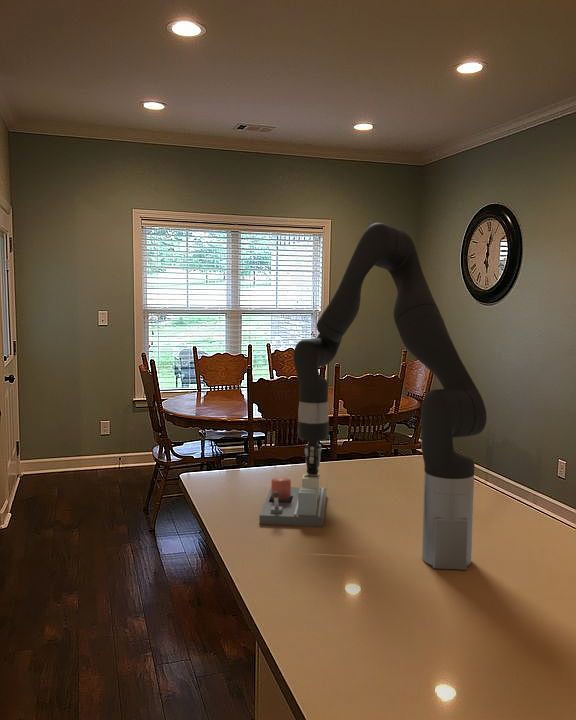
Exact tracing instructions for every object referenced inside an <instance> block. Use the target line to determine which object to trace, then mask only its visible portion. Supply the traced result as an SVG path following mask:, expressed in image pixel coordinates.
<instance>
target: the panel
mask: <svg viewBox="0 0 576 720" xmlns="http://www.w3.org/2000/svg"><path fill="white" fill-rule="evenodd" d="M299 488H302V486H301V487H300V486H299V487H294V486H291V497H290V498H289V499H284V500H278V497H279V493H278V492H274V493H273V497H274V499H273V498H272V497H271V488H270V490H269V492H268V494H267V497H266V499H265V501H264V503H263V506H262V508H261V510H260V513H259V516H258V517H259V519H258V520H259V523H258V524H259V525H271V526H272V525H273V526H274V525H275V526H295V527H296V526H297V527H299V526H302V527H322V528H323V526H324V518H325V510H326V502H327V488H324V487H323V486H322V487H320V495H319V500H317V514H316V516H310V515H298V492H299Z"/></svg>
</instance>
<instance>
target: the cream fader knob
mask: <svg viewBox="0 0 576 720" xmlns="http://www.w3.org/2000/svg"><path fill="white" fill-rule="evenodd" d="M320 478H321V476H320V474H318V475H312V474H308V473H307V474H306V473H303V475H302V477H301V487H302V488H317V500H319V495H320V488H321V486H320V485H321V483H320V482H321V481H320V480H321V479H320Z"/></svg>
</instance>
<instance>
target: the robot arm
mask: <svg viewBox="0 0 576 720" xmlns="http://www.w3.org/2000/svg"><path fill="white" fill-rule="evenodd" d="M374 266H375V267H379V268H381V269H385V270H386V271H387V272H388V273H389V274H390V276H391V278H392V280H393V283H394V285H395V287H396V290H397V291H396V292H397V295H396V299H395V303H394V307H393V319H394V323H395V326H396V329H397V331H398V334H399V336H400V339H401V341H402V343H403V345H404V347H405V348H406V349H407V350H408V352H409V353H410V354H411V355H413V356H414V357H415V358H416V359H417V360H418V361H419V362H420V363H421V364H423V365H424V367H426V368H427V369H428V370H429V371H430V372H431V373H433V374H434V376H435V377H436V378H437V380H438V381H439V383H440V384H441V387H442V388H439V389H431V390H429V391H428V392H426V394H424V395H425V396H424V398H423V400H422V403H421V407H420V409H421V410H420V423H421V425H420V426H421V427H420V428H421V429H420V430H421V454H422V458H423V463H424V465H423V466H424V469H423V471H424V477H423V479H424V480H423V503H422V504H423V506H422V507H423V509H422V510H423V511H422V541H421V542H422V543H421V544H422V547H421V559H422V560H423V561H424V562H425V563H426V564H428V565H430V566H431V567H432V568H433V569H442V570H443V569H445V570H464V571H466V570H467V569H468V567H469V566H471V564H472V550H473V549H472V548H473V521H474V518H473V517H474V495H475V494H474V490H475V461H474V459H473V458H472V457H470V456H468V455H467V454H463V453H460V452H458V451H457V452H456V450H455V449H454V440H453V439H454V438H462V437H463V438H465V437H472V436H476V435H480V434H481V433H482V432H483V431H484V430H485V428H486V424H487V417H488V416H487V410H486V406H485V402H484V399H483V398H482V396H481V393H480V391H479V389H478V388H477V386H476V384H475V381H473V378H472V377H471V376H470V374H469V372H468V369H466V366H465V365H464V363H463V361H462V359H461V357H460V355H459V353H458V351H457V348H456V347H455V345H454V343H453V340H452V339H451V336H450V333H449V332H448V329H447V326H446V323H445V320H444V318H443V316H442V314H441V311H440V310H439V308H438V305H437V303H436V301H435V299H434V297H433V294H432V292H431V289H430V286H429V285H428V281H427V280H426V277H425V275H424V272H423V269H422V267H421V266H422V265H421V263H420V259H419V256H418V252H417V248H416V245H415V242H414V241H413V238H412V237H411V236H410V234H408V233H407V232H406V231H404V230H402V229H399V228H397V227H394V226H392V225H388V224H386V223H384V222H375V223H372V224H370V225H369V226H368V227H367V228H366V229H365V230H364V232H363V234H362V235H361V237H360V238H359V240H358V243H357V245H356V247H355V250H354V252H353V254H352V256H351V259H350V260H349V263H348V265H347V267H346V269H345V271H344V274H343V277H342V279H341V281H340V284H339V285H338V287H337V290H336V291H335V292H334V295H333V297H332V298H331V300H330V302H328V304H327V306H326V308H325V310H324V311H323V312H322V313H321V315H320V317H319V319H318V320H317V323H316V329H317V332H318V335H317V336H316V337H315V338H306V339H305V338H304V339H301V340H299V341H298V342H297V344H296V345H295V347H294V350H293V364H294V368H295V372H296V376H297V380H298V385H299V391H298V392H299V395H298V397H299V398H298V400H299V402H298V403H299V404H298V413H297V417H298V418H297V420H298V421H297V435H298V436H297V437H298V438H299V439H300V440H301V441H302V440H303V441H307V444H305V446H304V455H305V465H306V473H307V474H312V475H319V467H320V463H321V454H322V444H319V441H324V440H327V439H328V438H329V431H330V430H329V427H330V426H329V425H330V423H329V420H330V419H329V417H330V415H329V414H330V413H329V412H330V411H329V410H330V409H329V401H328V400H329V383H328V381H327V379H326V378H324V377H323V376H320V372H319V368H320V367H324V366H327V365H329V364H330V363H331V362H332V361H333V360H334V358H336V355H337V353H338V351H339V347H340V344H341V342H342V341H343V340H342V339H343V336H344V335H345V334H346V333H347V331H348V330H349V328H350V326H351V325H352V324H353V322H354V321H355V319H356V317H357V315H358V314H359V310H360V306H361V293H362V287H363V284H364V281H365V279H366V277H367V275H368V274H369V272H370V271H371V270H372V269H373V267H374Z"/></svg>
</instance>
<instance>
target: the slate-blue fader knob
mask: <svg viewBox="0 0 576 720" xmlns="http://www.w3.org/2000/svg"><path fill="white" fill-rule="evenodd" d="M316 514H317V488H301V487H300V488H299V492H298V515H310V516H316Z"/></svg>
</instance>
